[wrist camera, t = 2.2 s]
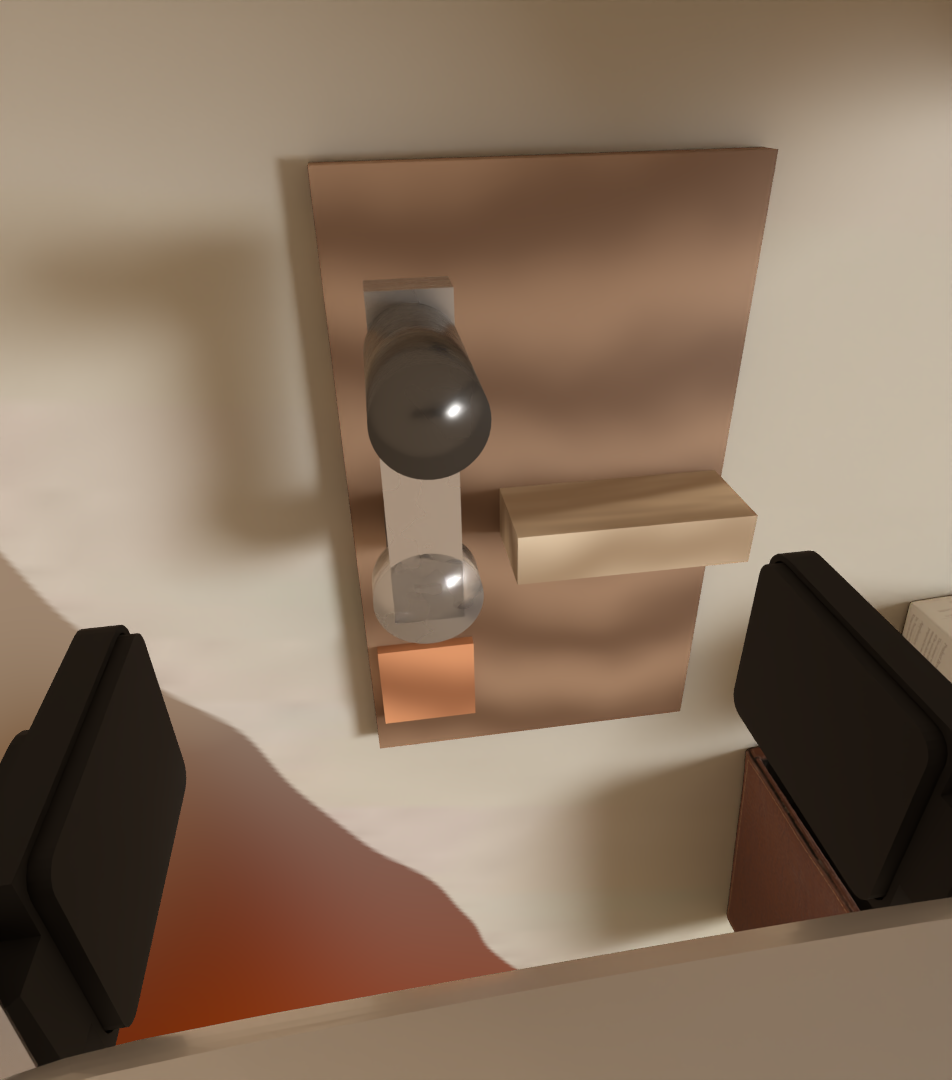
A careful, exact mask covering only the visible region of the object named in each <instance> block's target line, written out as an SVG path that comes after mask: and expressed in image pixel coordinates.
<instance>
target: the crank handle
mask: <svg viewBox="0 0 952 1080" xmlns="http://www.w3.org/2000/svg"><path fill="white" fill-rule="evenodd" d="M363 292H364V302H365V312H366V323H367V334H366V337H365V340H364V347H363V357H364V375H365V393H366V411H367V429H368V435H369V439H370V442H371V444H372V446H373V449H374V451H375V452H376V454H377V455H378V457H379V458H380V468H381V478H382V488H383V499H384V509H385V519H386V530H387V540H388V547H387V548H386V549H385V550H384V551H383V552H382V553H381V555H380V556H379V558H378V559H377V561H376V563H375V566H374V569H373V574H372V589H373V607H374V612H375V615H376V617H377V619H378V621H379V623H380V624H381V625H382V626H383V628H384V629H386V630H387V631H388V632H389V633H390V634H392V635H393V636H395V637H397V638H399V639H402V640H404V641H408V642H412V643H419V644H430V643H437V642H442V641H445V640H448V639H451V638H453V637H455V636H457V635H459V634H460V633H462V632H463V631H465V630H466V629H467V628H468V627H469V626H470V625H471V624H472V623H473V622H474V621H475V619H476V618H477V616H478V615H479V613H480V611H481V608H482V605H483V599H484V592H483V586H482V583H481V579H480V575H479V571H478V568H477V564H476V561H475V558H474V556H473V555H472V553H471V551H470V550H469V549H468V548H467V547H466V546H465V545H464V544H463V543H462V524H461V494H460V471H462V470H463V469H465V468H466V467H468V466H469V465H470V464H471V463H472V462H474V461H475V460H476V458H477V457H478V456H479V455H480V453H481V452H482V450H483V449H484V447H485V445H486V443H487V441H488V438H489V435H490V430H491V420H492V419H491V410H490V406H489V403H488V400H487V397H486V395H485V393H484V390H483V388H482V386H481V384H480V381H479V379H478V377H477V375H476V372H475V370H474V368H473V366H472V363H471V361H470V359H469V356H468V354H467V352H466V350H465V347H464V345H463V343H462V341H461V338H460V336H459V334H458V332H457V330H456V328H455V318H454V288H453V285H452V283H451V281H450V280H449V278H448V276H438V277H419V278H400V279H381V280H363Z"/></svg>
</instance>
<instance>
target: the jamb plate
mask: <svg viewBox="0 0 952 1080" xmlns="http://www.w3.org/2000/svg"><path fill="white" fill-rule="evenodd" d="M777 153H778V149H772V148H765V147H755V148H725V149H696V150H666V151H637V152H607V153H578V154H549V155H519V156H490V157H460V158H431V159H401V160H372V161H342V162H313V163H308V165H307V166H308V174H309V182H310V190H311V198H312V206H313V214H314V222H315V230H316V238H317V246H318V255H319V263H320V271H321V279H322V287H323V295H324V303H325V311H326V319H327V327H328V335H329V343H330V351H331V359H332V367H333V375H334V383H335V391H336V399H337V407H338V415H339V423H340V431H341V439H342V447H343V455H344V463H345V471H346V479H347V487H348V495H349V503H350V511H351V519H352V527H353V535H354V543H355V551H356V559H357V567H358V575H359V583H360V591H361V599H362V607H363V615H364V623H365V631H366V639H367V647H368V655H369V663H370V671H371V679H372V687H373V695H374V703H375V711H376V719H377V727H378V735H379V743H380V748H387V747H395V746H403V745H412V744H420V743H428V742H436V741H444V740H452V739H460V738H468V737H476V736H484V735H492V734H500V733H508V732H516V731H524V730H532V729H540V728H548V727H556V726H564V725H572V724H580V723H588V722H596V721H604V720H612V719H621V718H629V717H637V716H645V715H653V714H661V713H669V712H677V711H680V708H681V702H682V697H683V691H684V685H685V679H686V674H687V668H688V662H689V656H690V651H691V645H692V639H693V634H694V628H695V622H696V616H697V611H698V605H699V599H700V594H701V588H702V582H703V576H704V571H705V566H708V565H718V564H728V563H738V562H748V559H749V554H750V549H751V545H752V540H753V535H754V530H755V526H756V521H757V516H758V515H757V514H756V513H755V512H754V511H753V510H752V509H751V508H750V507H749V506H748V505H747V504H746V503H745V502H744V501H743V500H742V499H741V497H740V496H739V495H738V494H737V493H736V492H735V491H734V490H733V489H732V488H731V487H730V486H729V485H728V484H727V483H726V482H725V481H724V480H723V479H722V477H721V473H722V468H723V462H724V456H725V451H726V445H727V439H728V433H729V428H730V422H731V416H732V411H733V405H734V399H735V393H736V388H737V382H738V376H739V370H740V365H741V359H742V353H743V348H744V342H745V336H746V330H747V325H748V319H749V313H750V308H751V302H752V296H753V290H754V285H755V279H756V273H757V268H758V262H759V256H760V250H761V245H762V239H763V233H764V228H765V222H766V216H767V210H768V205H769V199H770V193H771V187H772V182H773V176H774V170H775V165H776V159H777ZM438 276H448V278H449V280H450V281H451V283H452V285H453V288H454V318H455V328H456V330H457V332H458V334H459V336H460V338H461V341H462V343H463V345H464V347H465V350H466V352H467V354H468V356H469V359H470V361H471V363H472V366H473V368H474V370H475V372H476V375H477V377H478V379H479V381H480V384H481V386H482V388H483V390H484V393H485V395H486V397H487V400H488V403H489V406H490V410H491V419H492V420H491V430H490V435H489V438H488V441H487V443H486V445H485V447H484V449H483V450H482V452H481V453H480V455H479V456H478V457H477V458H476V460H475V461H474V462H472V463H471V464H470V465H469V466H468V467H466V468H465V469H463V470H462V471H460V494H461V524H462V543H463V544H464V545H465V546H466V547H467V548H468V549H469V550H470V551H471V553H472V555H473V556H474V558H475V561H476V564H477V568H478V571H479V575H480V579H481V583H482V586H483V592H484V599H483V605H482V608H481V611H480V613H479V615H478V616H477V618H476V619H475V621H474V622H473V623H472V624H471V625H470V626H469V627H468V628H467V629H466V630H465V631H463V632H462V633H460V634H459V635H457V636H455V637H453V638H451V639H448V640H445V641H442V642H437V643H430V644H419V643H412V642H408V641H404V640H402V639H399V638H397V637H395V636H393V635H392V634H390V633H389V632H388V631H387V630H386V629H384V628H383V626H382V625H381V624H380V623H379V621H378V619H377V617H376V615H375V612H374V607H373V589H372V574H373V569H374V566H375V563H376V561H377V559H378V558H379V556H380V555H381V553H382V552H383V551H384V550H385V549H386V548H387V547H388V540H387V530H386V519H385V509H384V499H383V488H382V478H381V468H380V458H379V457H378V455H377V454H376V452H375V451H374V449H373V446H372V444H371V442H370V439H369V435H368V429H367V411H366V393H365V375H364V357H363V347H364V340H365V337H366V334H367V323H366V312H365V302H364V292H363V280H381V279H400V278H419V277H438Z"/></svg>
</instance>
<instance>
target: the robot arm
mask: <svg viewBox="0 0 952 1080" xmlns="http://www.w3.org/2000/svg"><path fill="white" fill-rule="evenodd" d="M734 702H735V707H736V710H737V712H738V714H739V716H740V717H741V719H742V720H743V722H744V723H745V725H746V727H747V728H748V730H749V731H750V733H751V734H752V736H753V738H754V739H755V741H756V742H757V744H758V745H759V747H760V748H761V750H762V752H763V753H764V755H765V756H766V758H767V759H768V761H769V763H770V764H771V766H772V767H773V769H774V770H775V772H776V773H777V775H778V777H779V778H780V780H781V781H782V783H783V784H784V786H785V788H786V789H787V791H788V792H789V794H790V795H791V797H792V799H793V800H794V802H795V803H796V805H797V806H798V808H799V809H800V811H801V813H802V814H803V816H804V817H805V819H806V820H807V822H808V824H809V825H810V827H811V828H812V830H813V831H814V833H815V834H816V836H817V838H818V839H819V841H820V842H821V844H822V845H823V847H824V849H825V850H826V852H827V853H828V855H829V856H830V858H831V860H832V861H833V863H834V864H835V866H836V867H837V869H838V870H839V872H840V874H841V875H842V877H843V878H844V880H845V881H846V883H847V885H848V886H849V888H850V889H851V890H852V892H853V893H854V894H855V895H856V896H857V897H858V898H860V899H862V900H867V901H868V902H869V904H870V905H871V907H872V908H873V909H870V910H864V911H858V912H852V913H846V914H840V915H834V916H828V917H822V918H816V919H810V920H805V921H799V922H793V923H787V924H781V925H775V926H769V927H763V928H757V929H751V930H745V931H739V932H733V933H727V934H721V935H715V936H710V937H704V938H698V939H692V940H686V941H680V942H675V943H669V944H663V945H657V946H652V947H646V948H640V949H634V950H628V951H623V952H617V953H611V954H605V955H600V956H594V957H588V958H582V959H577V960H571V961H565V962H559V963H554V964H548V965H542V966H537V967H531V968H525V969H519V970H514V971H508V972H502V973H497V974H491V975H485V976H479V977H474V978H469V979H463V980H458V981H451V982H446V983H440V984H435V985H429V986H424V987H418V988H413V989H407V990H401V991H396V992H390V993H385V994H379V995H374V996H368V997H363V998H357V999H351V1000H346V1001H341V1002H335V1003H329V1004H323V1005H318V1006H312V1007H307V1008H301V1009H296V1010H290V1011H285V1012H279V1013H273V1014H269V1015H264V1016H259V1017H253V1018H248V1019H244V1020H238V1021H233V1022H228V1023H223V1024H218V1025H213V1026H208V1027H203V1028H198V1029H192V1030H187V1031H182V1032H177V1033H172V1034H167V1035H162V1036H157V1037H152V1038H147V1039H142V1040H137V1041H133V1042H129V1043H125V1044H121V1045H117V1046H115V1045H116V1040H117V1036H118V1032H119V1028H124V1027H129V1026H130V1025H131V1024H132V1022H133V1020H134V1018H135V1015H136V1011H137V1007H138V1002H139V998H140V993H141V989H142V984H143V980H144V975H145V971H146V966H147V961H148V957H149V952H150V947H151V943H152V939H153V933H154V929H155V925H156V920H157V916H158V911H159V906H160V902H161V897H162V893H163V888H164V884H165V879H166V875H167V870H168V866H169V861H170V856H171V852H172V847H173V843H174V838H175V834H176V828H177V824H178V819H179V815H180V811H181V806H182V802H183V797H184V792H185V787H186V770H185V764H184V760H183V757H182V754H181V751H180V748H179V745H178V742H177V739H176V736H175V733H174V730H173V727H172V724H171V721H170V718H169V715H168V712H167V709H166V705H165V702H164V700H163V697H162V693H161V690H160V687H159V684H158V681H157V678H156V675H155V672H154V669H153V666H152V663H151V660H150V657H149V654H148V651H147V647H146V644H145V641H144V639H143V637H142V636H141V634H138V633H136V634H130V633H129V631H128V629H127V628H126V627H125V626H123V625H116V626H106V627H97V628H88V629H81V630H79V631H78V632H77V633H76V635H75V636H74V638H73V640H72V642H71V644H70V646H69V649H68V651H67V653H66V655H65V657H64V659H63V661H62V663H61V665H60V667H59V669H58V671H57V673H56V675H55V678H54V680H53V682H52V684H51V686H50V688H49V690H48V692H47V694H46V696H45V698H44V700H43V703H42V704H41V707H40V709H39V711H38V713H37V715H36V717H35V719H34V721H33V724H32V725H31V727H30V729H29V730H25V731H22V732H20V733H19V734H17V735H16V736H15V738H14V739H13V740H12V742H11V743H10V745H9V747H8V749H7V751H6V753H5V755H4V757H3V759H2V761H1V763H0V1080H952V683H951V682H950V681H949V680H948V679H947V678H946V677H945V676H944V675H943V674H942V673H941V672H940V671H939V670H938V669H937V668H935V667H934V666H933V665H932V664H931V663H930V662H929V661H928V660H927V659H926V658H925V657H924V656H923V655H922V654H921V653H920V652H919V651H918V650H917V649H916V648H915V647H914V646H913V645H912V644H911V643H910V642H909V641H908V640H907V639H906V638H905V637H904V636H902V635H901V634H900V633H899V632H898V631H897V630H896V629H895V628H894V627H893V626H892V625H891V624H890V623H889V622H888V621H887V620H886V619H885V618H884V617H883V616H882V615H881V614H880V613H879V612H878V611H877V610H876V609H875V608H874V607H873V606H872V605H871V604H869V603H868V602H867V601H866V600H865V599H864V598H863V597H862V596H861V595H860V594H859V593H858V592H857V591H856V590H855V589H854V588H853V587H852V586H851V585H850V584H849V583H848V582H847V581H846V580H845V579H844V578H843V577H842V576H841V575H840V574H839V573H838V572H836V571H835V570H834V569H833V568H832V567H831V566H830V565H829V564H828V563H827V562H826V561H825V560H824V559H823V558H822V557H821V556H820V555H819V554H817V553H816V552H814V551H801V552H792V553H783V554H777V555H775V556H773V557H772V559H771V560H770V563H769V564H766V565H764V566H763V567H762V568H761V571H760V574H759V579H758V583H757V588H756V592H755V597H754V601H753V606H752V610H751V615H750V620H749V624H748V629H747V633H746V638H745V642H744V647H743V651H742V656H741V660H740V665H739V670H738V674H737V679H736V683H735V688H734Z"/></svg>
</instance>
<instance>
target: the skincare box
mask: <svg viewBox="0 0 952 1080" xmlns="http://www.w3.org/2000/svg"><path fill="white" fill-rule="evenodd" d="M902 636H904V637H905V638H906V639H907V640H908V641H909V642H910V643H911V644H912V645H913V646H914V647H915V648H916V649H917V650H918V651H919V652H920V653H921V654H922V655H923V656H924V657H925V658H926V659H927V660H928V661H929V662H930V663H931V664H932V665H933V666H934V667H935V668H937V669H938V670H939V671H940V672H941V673H942V674H943V675H944V676H945V677H946V678H947V679H948V680H949V681H950V682H951V683H952V596H946V597H939V598H932V599H926V600H919V601H914V602H911V603H910V606H909V610H908V614H907V618H906V622H905V626H904V630H903V634H902Z"/></svg>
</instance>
